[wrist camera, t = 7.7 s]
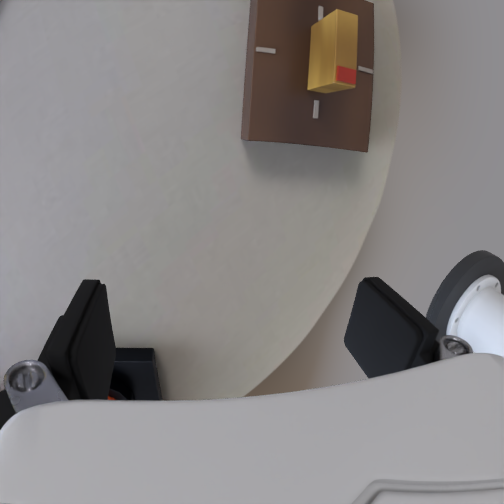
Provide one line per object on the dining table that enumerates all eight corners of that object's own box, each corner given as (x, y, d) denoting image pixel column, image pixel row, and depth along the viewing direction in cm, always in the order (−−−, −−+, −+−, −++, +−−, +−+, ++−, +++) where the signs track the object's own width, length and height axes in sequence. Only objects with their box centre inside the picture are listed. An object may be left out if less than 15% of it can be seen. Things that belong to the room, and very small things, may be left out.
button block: (153, 347, 30) (151, 374, 26) (164, 409, 33) (164, 434, 30) (49, 344, 27) (37, 368, 24) (73, 405, 31) (67, 429, 27)
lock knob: (311, 26, 19) (338, 7, 15) (329, 30, 19) (360, 14, 15) (306, 90, 21) (335, 82, 16) (326, 93, 21) (357, 87, 17)
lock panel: (357, 11, 21) (374, 2, 18) (350, 149, 26) (368, 152, 23) (251, -12, 19) (259, -27, 16) (240, 139, 24) (248, 140, 21)
